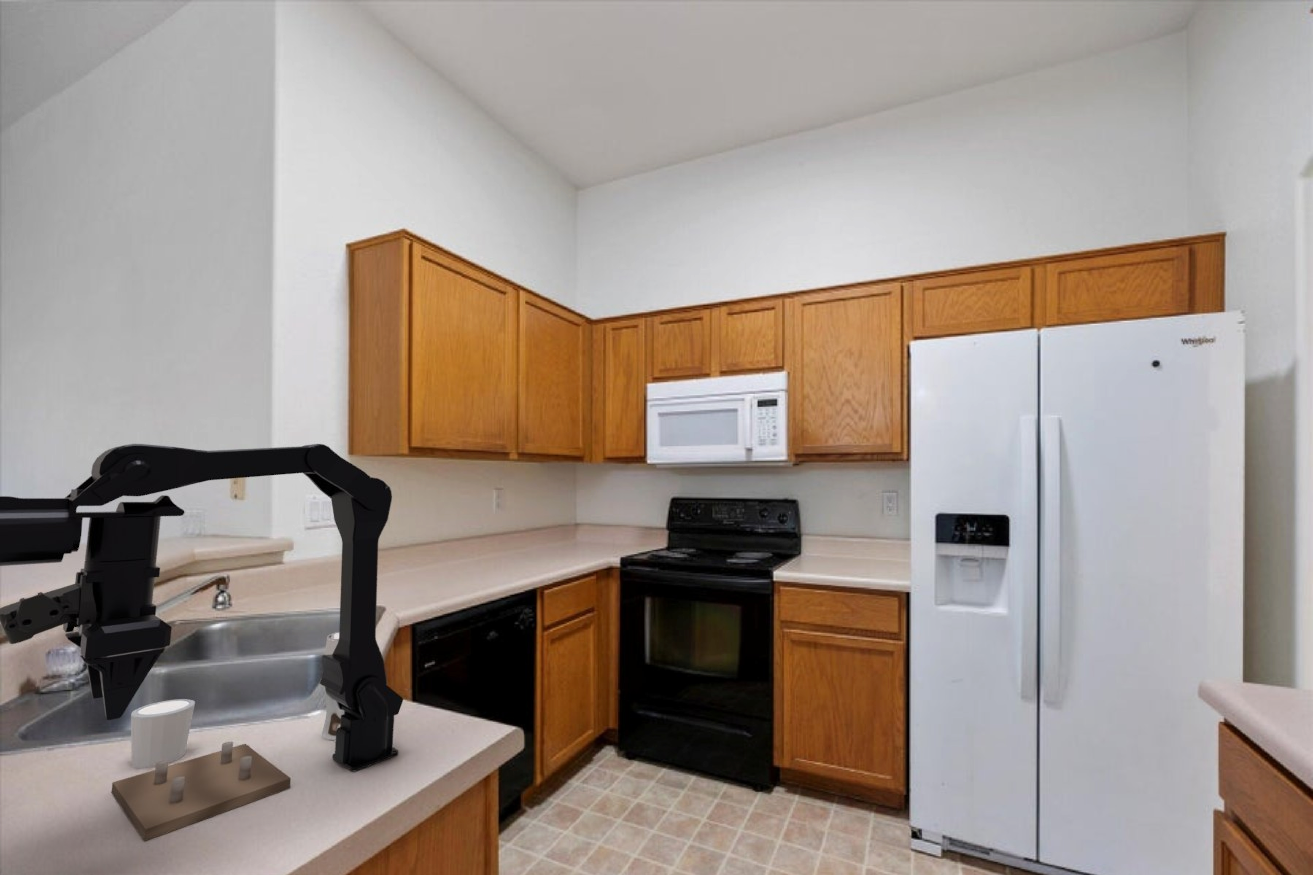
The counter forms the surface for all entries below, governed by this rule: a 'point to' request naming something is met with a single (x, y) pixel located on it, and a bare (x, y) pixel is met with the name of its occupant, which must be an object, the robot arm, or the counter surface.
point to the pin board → (197, 789)
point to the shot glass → (160, 732)
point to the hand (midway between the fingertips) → (106, 707)
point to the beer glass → (331, 705)
